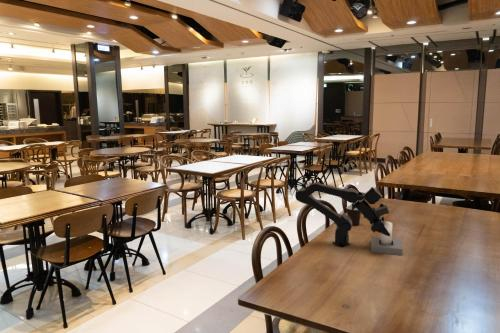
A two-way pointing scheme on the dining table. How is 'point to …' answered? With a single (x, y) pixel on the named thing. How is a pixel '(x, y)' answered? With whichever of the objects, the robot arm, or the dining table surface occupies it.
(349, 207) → the coffee mug
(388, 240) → the peg
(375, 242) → the collar block
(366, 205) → the robot arm
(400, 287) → the dining table surface
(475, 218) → the dining table surface
